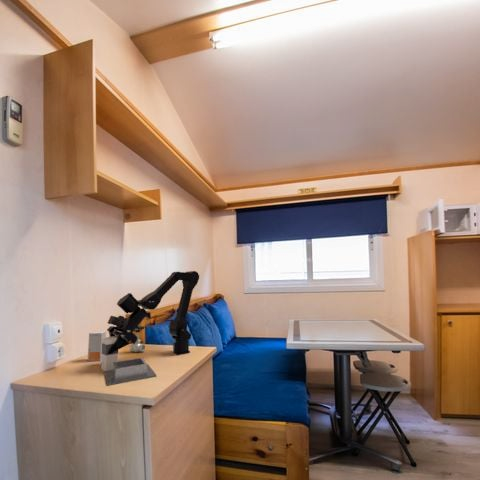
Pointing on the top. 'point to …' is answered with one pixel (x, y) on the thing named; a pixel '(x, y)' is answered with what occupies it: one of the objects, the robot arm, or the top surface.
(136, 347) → the valve
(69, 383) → the top surface
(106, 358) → the plug
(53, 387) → the top surface
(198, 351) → the top surface
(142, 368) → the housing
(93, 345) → the skincare box
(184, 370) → the top surface
